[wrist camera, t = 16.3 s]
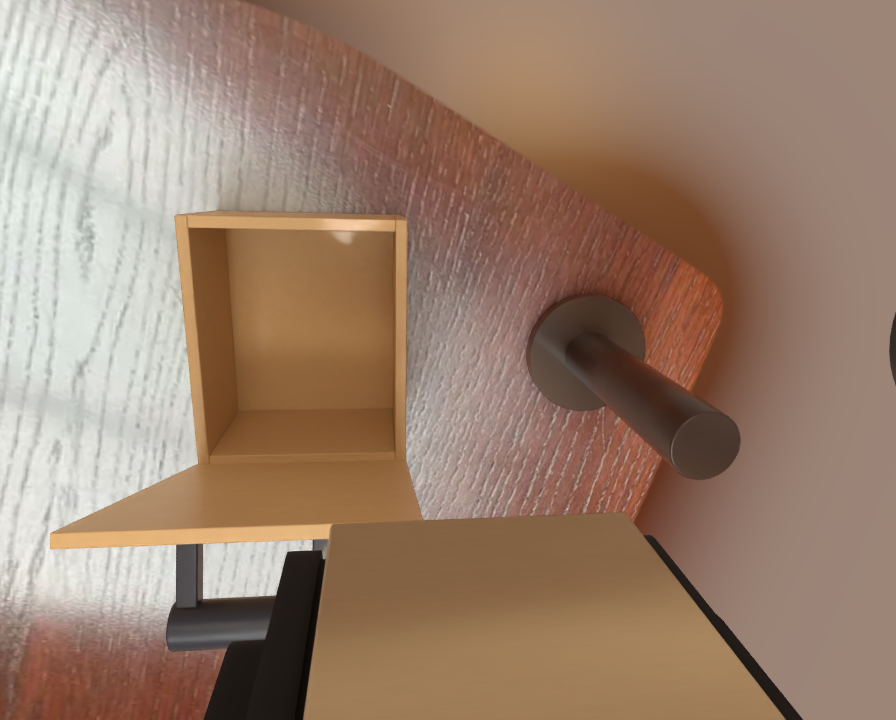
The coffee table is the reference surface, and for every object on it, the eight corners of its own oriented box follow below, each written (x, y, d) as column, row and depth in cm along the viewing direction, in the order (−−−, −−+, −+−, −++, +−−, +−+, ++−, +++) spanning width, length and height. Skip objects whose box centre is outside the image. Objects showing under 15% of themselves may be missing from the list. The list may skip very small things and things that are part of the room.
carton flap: (49, 532, 18) (47, 689, 18) (423, 520, 19) (424, 666, 19) (196, 464, 32) (195, 551, 31) (406, 459, 33) (406, 542, 33)
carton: (216, 210, 36) (173, 214, 28) (402, 214, 37) (407, 219, 30) (232, 415, 39) (198, 466, 32) (401, 413, 40) (405, 461, 33)
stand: (559, 274, 39) (674, 326, 24) (660, 321, 41) (828, 399, 25) (506, 381, 41) (582, 495, 25) (605, 422, 42) (733, 552, 27)
